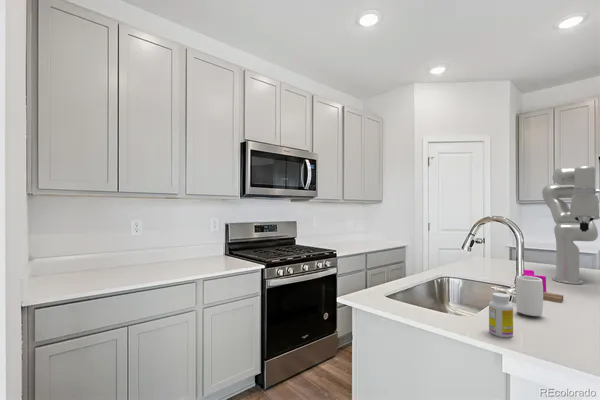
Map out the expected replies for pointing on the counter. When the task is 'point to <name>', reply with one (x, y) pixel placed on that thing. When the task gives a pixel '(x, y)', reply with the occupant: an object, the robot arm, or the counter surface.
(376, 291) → the counter surface
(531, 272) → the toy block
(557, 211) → the robot arm
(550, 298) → the plank
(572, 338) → the counter surface
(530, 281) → the cup
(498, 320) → the supplement bottle
